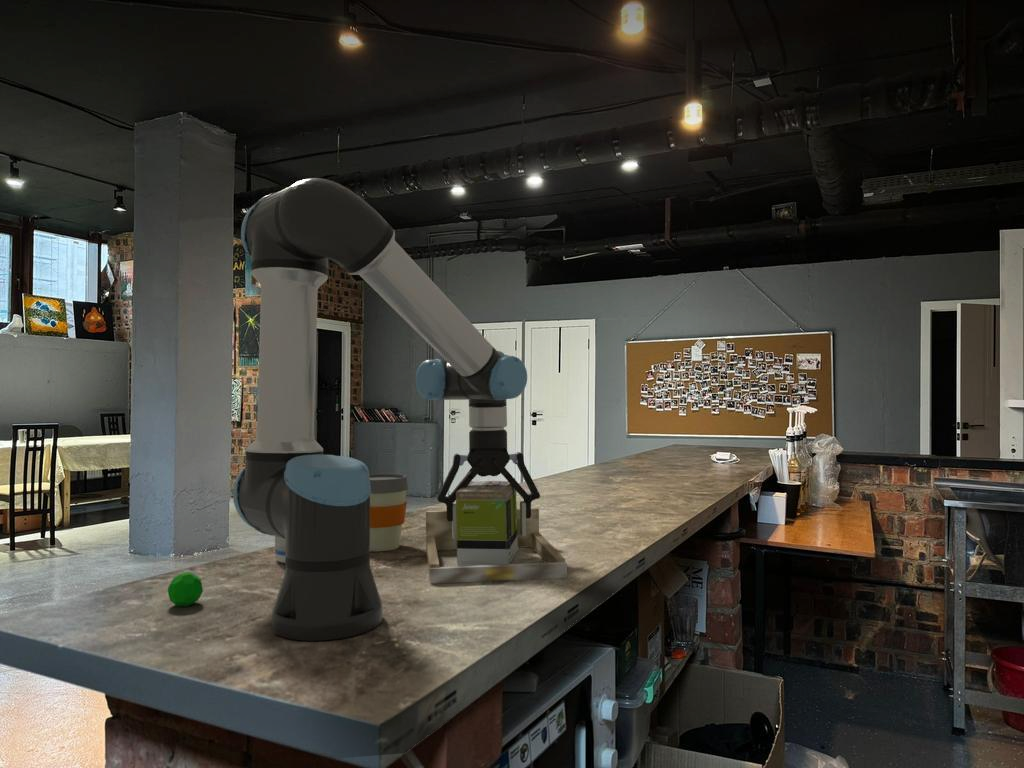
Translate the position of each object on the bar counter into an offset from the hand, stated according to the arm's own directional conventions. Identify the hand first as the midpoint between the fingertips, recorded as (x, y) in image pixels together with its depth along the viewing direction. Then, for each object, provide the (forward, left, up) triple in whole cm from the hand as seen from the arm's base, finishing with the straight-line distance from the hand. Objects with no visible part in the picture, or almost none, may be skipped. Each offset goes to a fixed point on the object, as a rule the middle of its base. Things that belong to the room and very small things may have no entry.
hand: (489, 536), depth 139 cm
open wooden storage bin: (0, -3, -4) cm, 5 cm away
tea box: (0, 0, -5) cm, 5 cm away
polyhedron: (-50, -23, -5) cm, 55 cm away
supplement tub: (-37, +6, -5) cm, 38 cm away
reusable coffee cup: (-22, +15, -5) cm, 27 cm away
